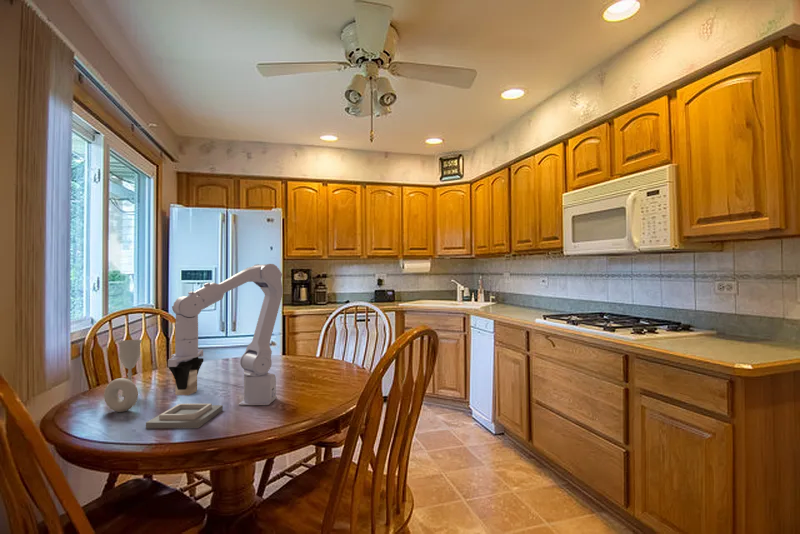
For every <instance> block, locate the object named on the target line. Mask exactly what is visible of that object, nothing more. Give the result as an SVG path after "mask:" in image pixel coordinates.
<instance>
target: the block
mask: <svg viewBox="0 0 800 534" xmlns="http://www.w3.org/2000/svg"><path fill="white" fill-rule="evenodd" d="M174 381H175V380H174ZM174 385H175V390H174V391H175V393H174V394H175V396H190V395H191V394H194V393H196V392H197V391H198V375H197V370H190V372H189V376H188V384H187V388H186V389H185V390H178V388H177V385H176V381H175V383H174Z"/></svg>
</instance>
